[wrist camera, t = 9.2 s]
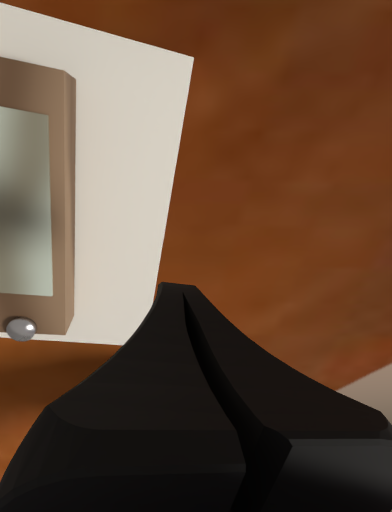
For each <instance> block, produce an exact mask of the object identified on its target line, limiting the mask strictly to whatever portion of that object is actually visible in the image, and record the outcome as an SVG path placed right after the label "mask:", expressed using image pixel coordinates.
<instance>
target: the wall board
mask: <svg viewBox="0 0 392 512" xmlns="http://www.w3.org/2000/svg"><path fill="white" fill-rule="evenodd" d="M0 57H4V58H9V59H14V60H18V61H23V62H28V63H32V64H37V65H41V66H46V67H51V68H55V69H60V70H64V71H65V72H67V73H68V74H70V75H71V76H72V77H74V78H75V79H76V156H75V277H74V317H73V319H72V322H71V324H70V326H69V328H68V331H67V333H66V335H48V334H34V336H33V337H32V338H31V339H35V340H51V341H66V342H81V343H97V344H112V345H124V344H125V343H126V342H127V340H128V339H129V338H130V337H131V336H132V335H133V333H134V332H135V331H136V330H137V328H138V327H139V326H140V324H141V323H142V321H143V320H144V318H145V317H146V315H147V314H148V312H149V310H150V309H151V307H152V304H153V298H154V292H155V286H156V280H157V274H158V269H159V263H160V257H161V251H162V245H163V239H164V233H165V227H166V221H167V215H168V209H169V203H170V197H171V191H172V185H173V179H174V173H175V167H176V161H177V155H178V149H179V144H180V138H181V132H182V126H183V120H184V114H185V108H186V102H187V96H188V90H189V84H190V78H191V72H192V66H193V60H194V57H190V56H187V55H183V54H180V53H176V52H173V51H169V50H166V49H162V48H158V47H155V46H151V45H148V44H144V43H141V42H137V41H134V40H130V39H127V38H123V37H120V36H116V35H113V34H109V33H106V32H102V31H99V30H95V29H92V28H88V27H84V26H81V25H77V24H74V23H70V22H67V21H63V20H60V19H56V18H53V17H49V16H46V15H42V14H39V13H35V12H32V11H28V10H25V9H21V8H18V7H14V6H10V5H7V4H3V3H0ZM0 337H5V338H11V337H9V335H8V334H7V333H4V332H0Z"/></svg>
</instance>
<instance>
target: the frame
mask: <svg viewBox="0 0 392 512" xmlns="http://www.w3.org/2000/svg"><path fill="white" fill-rule="evenodd" d="M75 156H76V79H75V78H74V77H72V76H71V75H70V74H68V73H67V72H65V71H64V70H60V69H55V68H51V67H46V66H41V65H37V64H32V63H28V62H23V61H18V60H14V59H9V58H4V57H0V332H4V333H7V334H8V335H9V337H11V338H12V339H14V340H16V341H27V340H30V339H31V338H32V337H33V336H34V334H48V335H66V333H67V331H68V328H69V326H70V324H71V322H72V319H73V317H74V277H75Z"/></svg>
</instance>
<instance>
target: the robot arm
mask: <svg viewBox="0 0 392 512" xmlns="http://www.w3.org/2000/svg"><path fill="white" fill-rule="evenodd" d="M391 510H392V425H391V424H390V422H389V421H388V420H387V419H386V417H385V416H384V415H383V414H382V413H381V412H380V411H378V410H376V409H374V408H371V407H369V406H367V405H365V404H362V403H360V402H358V401H356V400H354V399H351V398H349V397H347V396H345V395H342V394H340V393H338V392H336V391H334V390H332V389H330V388H328V387H326V386H324V385H322V384H320V383H318V382H317V381H315V380H313V379H311V378H309V377H307V376H305V375H304V374H302V373H300V372H298V371H297V370H295V369H293V368H292V367H290V366H288V365H287V364H285V363H284V362H282V361H280V360H279V359H277V358H276V357H274V356H273V355H271V354H270V353H268V352H267V351H265V350H264V349H263V348H261V347H260V346H259V345H257V344H256V343H255V342H253V341H252V340H251V339H249V338H248V337H247V336H246V335H244V334H243V333H242V332H241V331H240V330H239V329H238V328H236V327H235V326H234V325H233V324H232V323H231V322H230V321H229V320H228V319H227V318H226V317H224V316H223V315H222V314H221V313H220V312H219V311H218V310H217V309H216V307H215V306H214V305H213V304H212V303H211V302H210V301H209V300H208V299H207V298H206V297H205V296H204V295H203V294H202V292H201V291H200V290H199V289H198V288H197V287H196V286H193V285H184V284H176V283H167V282H161V283H160V284H159V285H158V290H157V296H156V299H155V301H154V303H153V305H152V307H151V309H150V310H149V312H148V314H147V315H146V317H145V318H144V320H143V321H142V323H141V324H140V326H139V327H138V328H137V330H136V331H135V332H134V333H133V335H132V336H131V337H130V338H129V339H128V340H127V342H126V343H125V344H124V345H123V346H122V347H121V348H120V349H119V350H118V351H117V352H116V353H115V354H114V355H113V356H112V357H111V358H110V359H109V360H108V361H107V362H105V363H104V364H103V365H102V366H101V367H99V368H98V369H97V370H96V371H95V372H93V373H92V374H91V375H90V376H89V377H87V378H86V379H85V380H84V381H82V382H81V383H80V384H78V385H77V386H75V387H74V388H72V389H71V390H69V391H68V392H67V393H65V394H64V395H62V396H61V397H59V398H58V399H56V400H55V401H53V402H52V403H51V404H49V405H47V406H46V407H45V408H44V410H43V411H42V412H41V414H40V415H39V417H38V418H37V420H36V421H35V423H34V424H33V425H32V427H31V428H30V430H29V431H28V433H27V435H26V436H25V438H24V439H23V441H22V442H21V444H20V446H19V447H18V449H17V451H16V453H15V455H14V456H13V458H12V460H11V461H10V463H9V465H8V467H7V469H6V471H5V473H4V475H3V477H2V480H1V482H0V512H390V511H391Z"/></svg>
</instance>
